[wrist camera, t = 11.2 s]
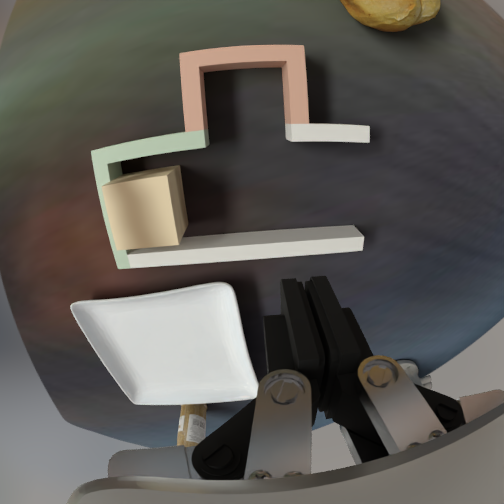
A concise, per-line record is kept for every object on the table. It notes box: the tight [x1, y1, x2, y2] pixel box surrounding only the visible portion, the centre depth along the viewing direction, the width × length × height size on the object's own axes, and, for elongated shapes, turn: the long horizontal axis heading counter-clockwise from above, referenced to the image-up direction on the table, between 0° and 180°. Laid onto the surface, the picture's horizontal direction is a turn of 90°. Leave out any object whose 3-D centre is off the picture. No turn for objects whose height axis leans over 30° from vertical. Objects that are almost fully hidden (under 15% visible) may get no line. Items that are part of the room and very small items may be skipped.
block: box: [101, 165, 188, 251], centre depth 24 cm, size 6×6×5 cm
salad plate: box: [70, 282, 259, 405], centre depth 34 cm, size 21×21×3 cm
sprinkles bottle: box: [177, 403, 207, 447], centre depth 36 cm, size 5×5×13 cm
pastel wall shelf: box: [91, 45, 370, 269], centre depth 23 cm, size 24×19×3 cm
